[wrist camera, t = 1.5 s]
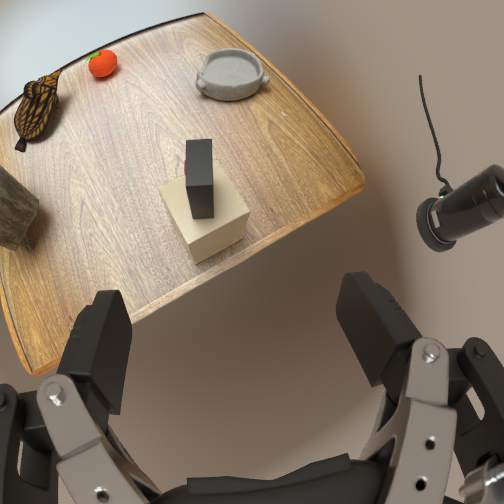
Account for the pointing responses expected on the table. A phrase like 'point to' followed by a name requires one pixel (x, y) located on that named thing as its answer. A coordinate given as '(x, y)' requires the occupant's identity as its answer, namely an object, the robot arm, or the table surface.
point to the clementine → (102, 63)
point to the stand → (212, 229)
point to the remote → (199, 178)
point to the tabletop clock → (15, 211)
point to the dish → (231, 74)
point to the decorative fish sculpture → (36, 108)
